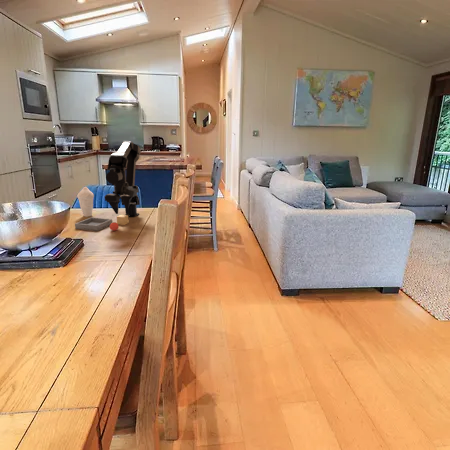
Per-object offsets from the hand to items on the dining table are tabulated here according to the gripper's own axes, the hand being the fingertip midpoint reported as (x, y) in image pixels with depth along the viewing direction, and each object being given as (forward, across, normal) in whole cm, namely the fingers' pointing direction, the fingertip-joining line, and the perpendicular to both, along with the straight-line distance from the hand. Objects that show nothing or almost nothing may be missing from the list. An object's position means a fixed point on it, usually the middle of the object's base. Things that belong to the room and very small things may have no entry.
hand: (122, 211), depth 156 cm
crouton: (+6, 0, 0) cm, 6 cm away
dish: (+6, -9, +10) cm, 15 cm away
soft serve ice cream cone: (+6, +7, +26) cm, 28 cm away
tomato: (+6, -12, -3) cm, 14 cm away
